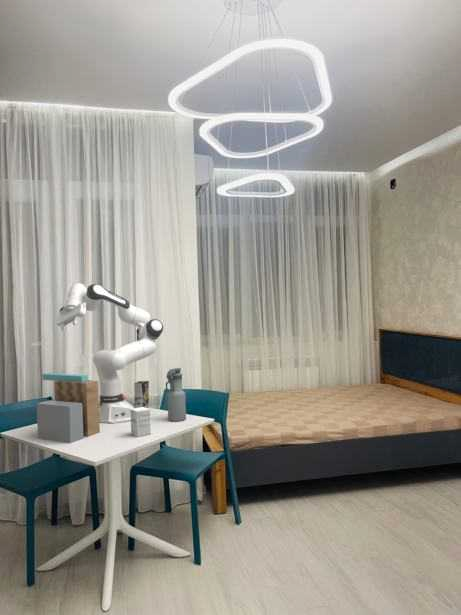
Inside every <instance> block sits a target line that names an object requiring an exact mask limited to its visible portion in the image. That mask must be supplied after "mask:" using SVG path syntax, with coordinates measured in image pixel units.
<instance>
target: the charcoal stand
mask: <svg viewBox="0 0 461 615" xmlns="http://www.w3.org/2000/svg"><path fill="white" fill-rule="evenodd" d="M36 420H37V426H36V427H37V439H41V440H48V441H54V442H62V443H69V444H73V443H74V442H77V441H80V440H83V439H84V436H83V410H82V403H76V402H64V401H55V400H46V401H41V402H37V403H36Z"/></svg>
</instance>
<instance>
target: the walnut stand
mask: <svg viewBox="0 0 461 615" xmlns="http://www.w3.org/2000/svg"><path fill="white" fill-rule="evenodd" d="M53 386H54V388H53V389H54V401H64V402H76V403H82V410H83V437H86V438H87V437H91V436H93V435H97V434H100V432H101V428H100V422H99V415H100V395H99V380H90V379H89V380H88V381H86V382H69V381H53Z"/></svg>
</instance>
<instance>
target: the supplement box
mask: <svg viewBox="0 0 461 615" xmlns="http://www.w3.org/2000/svg"><path fill="white" fill-rule="evenodd" d="M151 431H152V430H151V409H150V408H148V407H147V408H145V407H139V408H135V407H134V408H133V409H131V421H130V433H131V435H132V436H135V437H137V438H140V437H145V436H150V435H151V434H152V433H151Z"/></svg>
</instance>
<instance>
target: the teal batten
mask: <svg viewBox="0 0 461 615" xmlns="http://www.w3.org/2000/svg"><path fill="white" fill-rule="evenodd" d="M41 376H42V378H41V380H42V381H53V382H54V381H69V382H86V381H88V379H89V378H88V374H71V373H54V372H46V373H42V374H41Z"/></svg>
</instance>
